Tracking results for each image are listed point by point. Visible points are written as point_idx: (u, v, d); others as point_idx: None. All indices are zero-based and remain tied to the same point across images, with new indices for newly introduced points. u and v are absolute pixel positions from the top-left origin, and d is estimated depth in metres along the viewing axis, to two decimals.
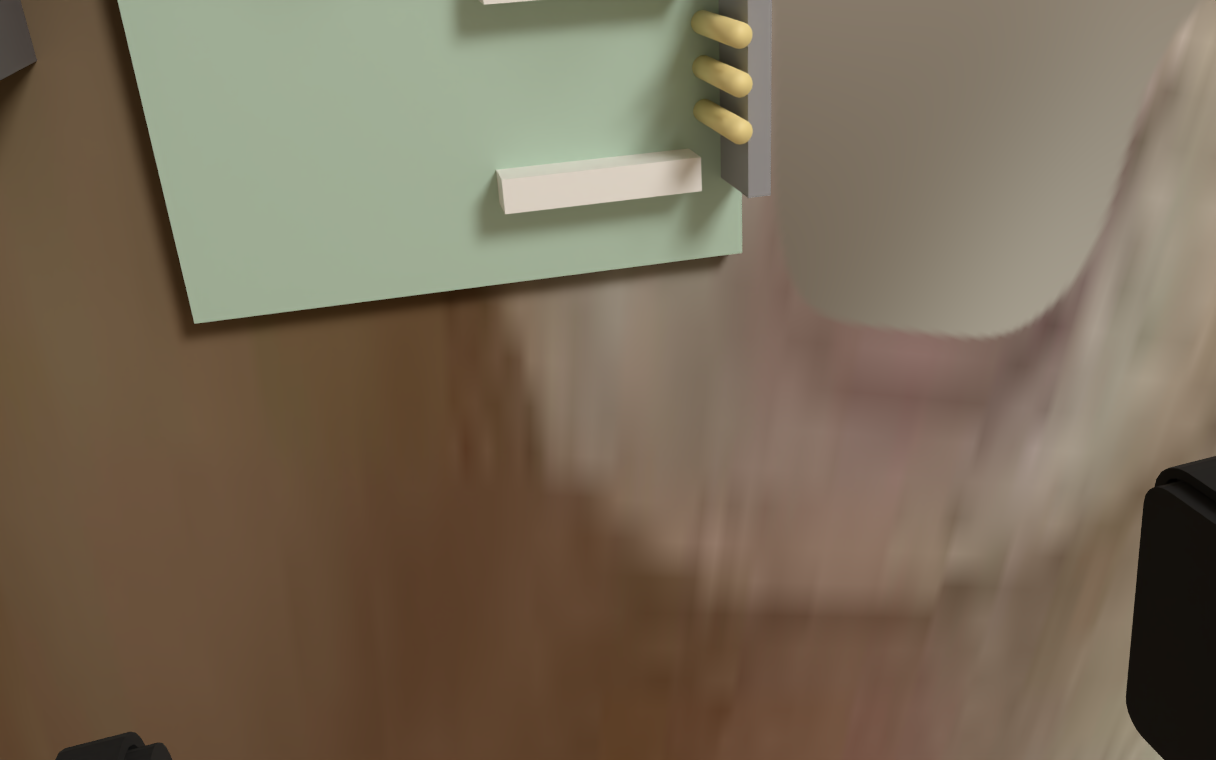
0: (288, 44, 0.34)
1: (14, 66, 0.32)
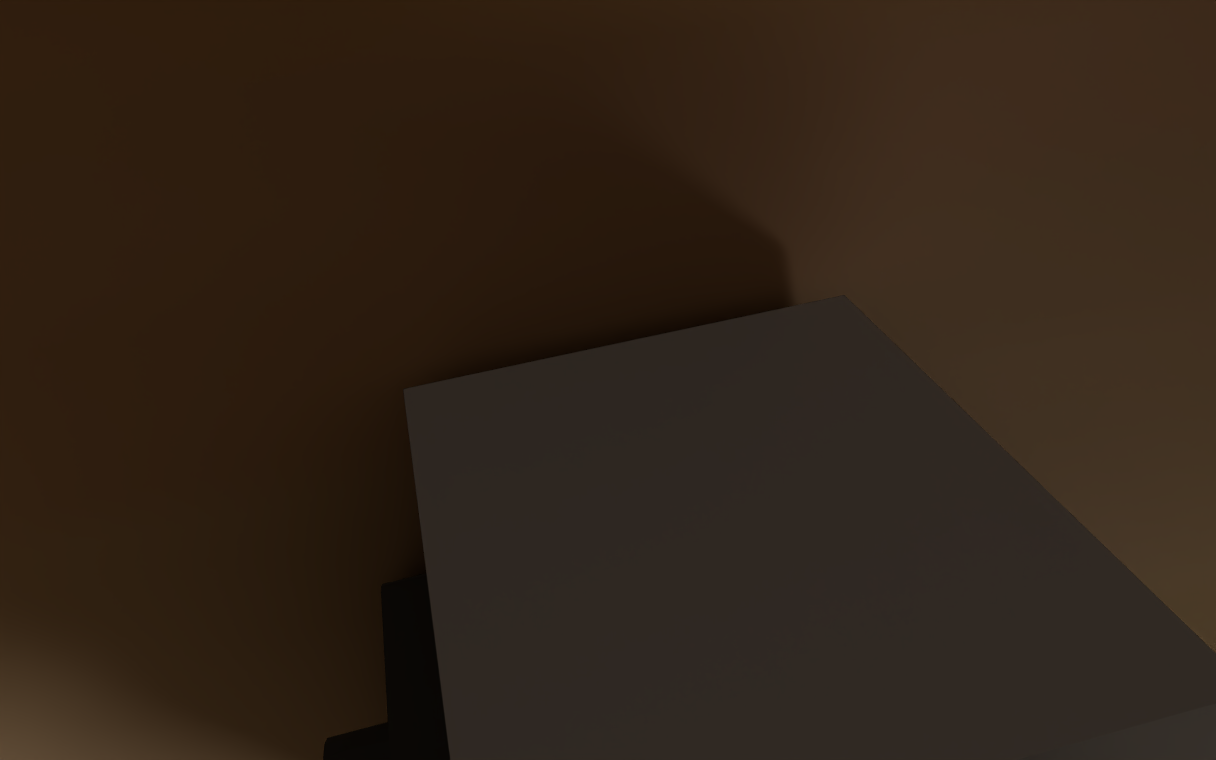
0: None
1: None
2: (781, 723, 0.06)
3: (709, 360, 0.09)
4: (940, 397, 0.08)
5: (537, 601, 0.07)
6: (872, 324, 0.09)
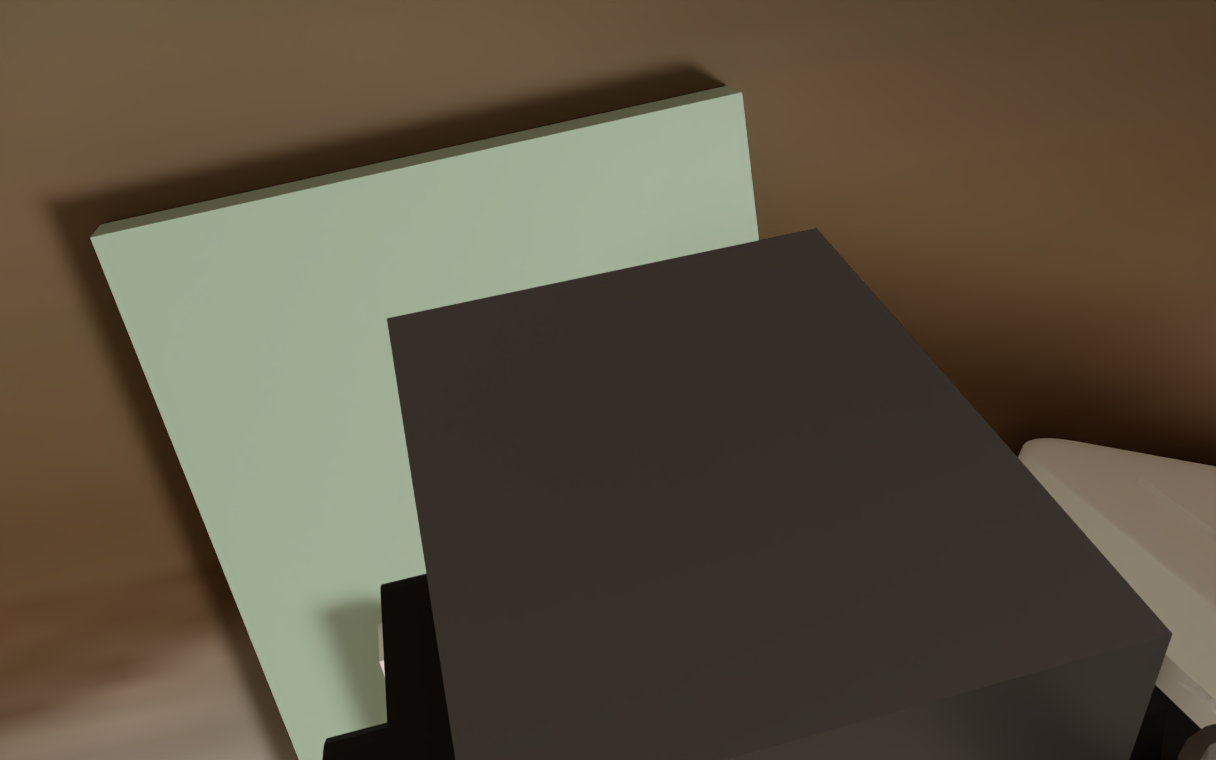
0: None
1: None
2: (746, 658, 0.06)
3: (683, 295, 0.09)
4: (904, 339, 0.08)
5: (522, 539, 0.07)
6: (842, 260, 0.09)
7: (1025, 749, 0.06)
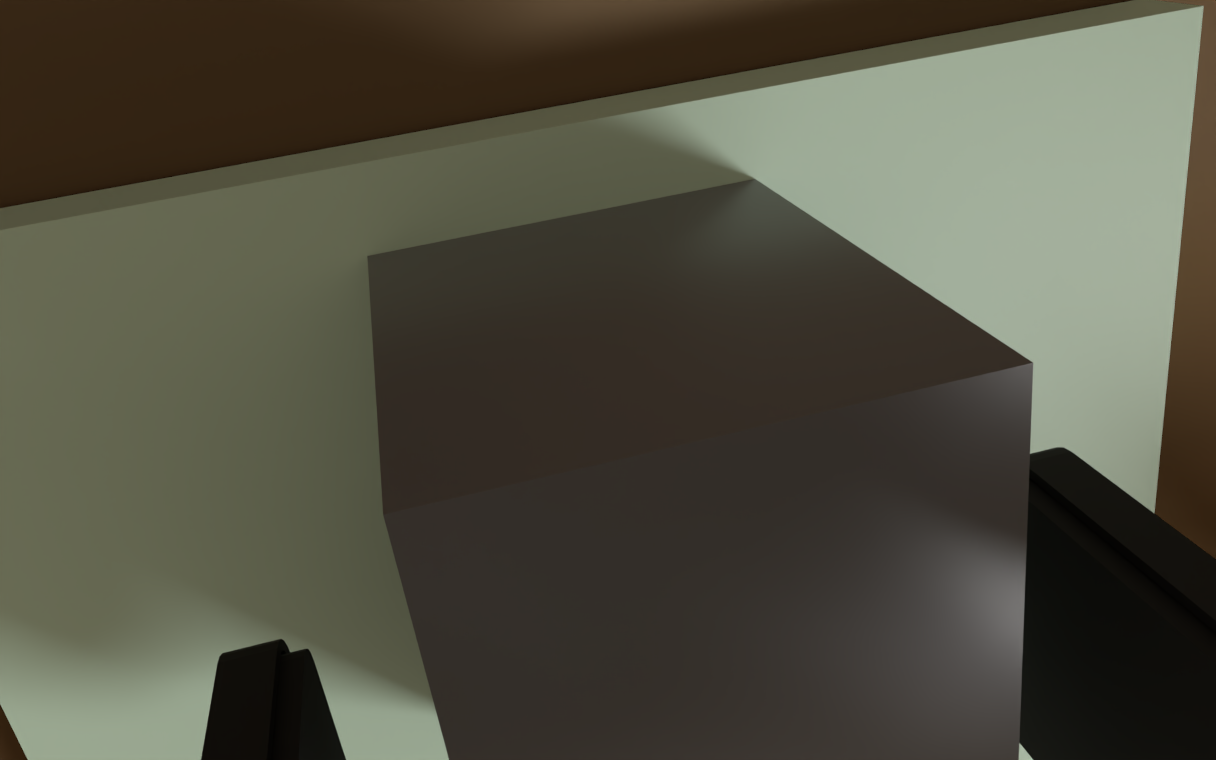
0: None
1: None
2: (649, 405, 0.07)
3: (630, 222, 0.10)
4: (821, 228, 0.09)
5: (462, 359, 0.08)
6: (774, 193, 0.10)
7: (916, 494, 0.07)
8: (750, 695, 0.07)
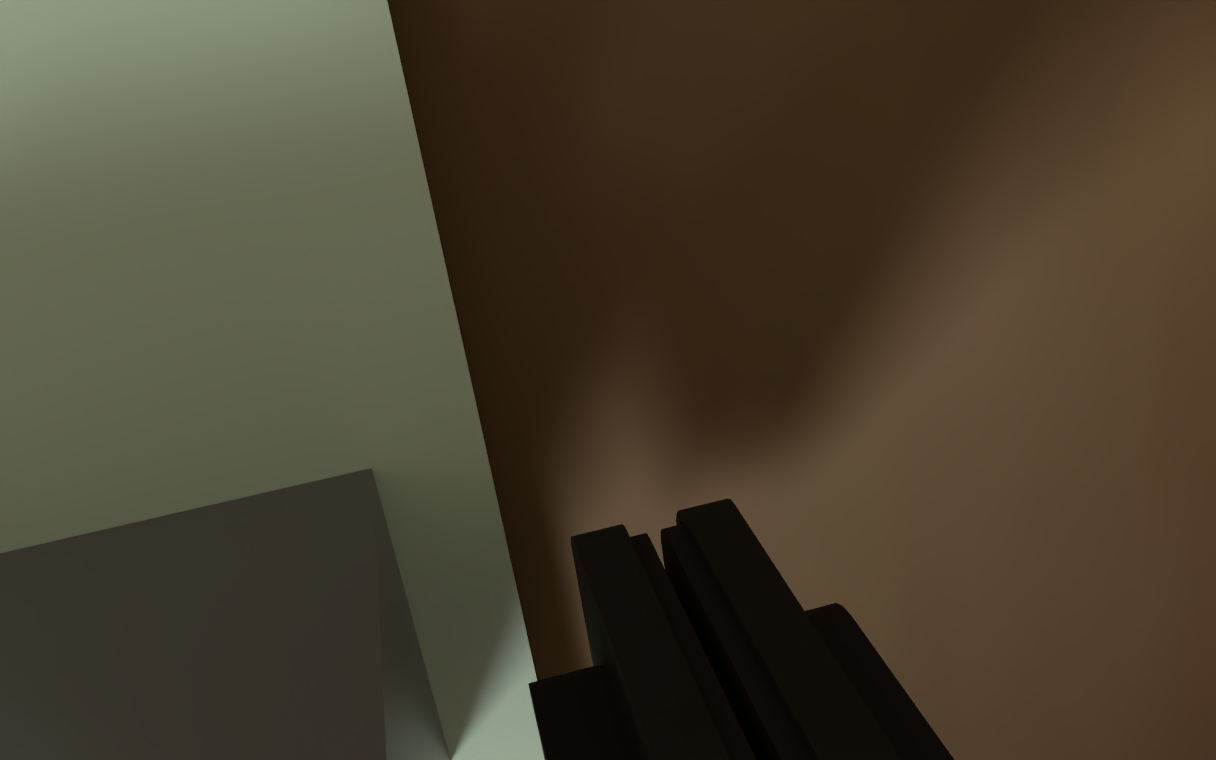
0: None
1: None
2: None
3: (429, 699, 0.11)
4: None
5: (400, 720, 0.08)
6: None
7: None
8: None
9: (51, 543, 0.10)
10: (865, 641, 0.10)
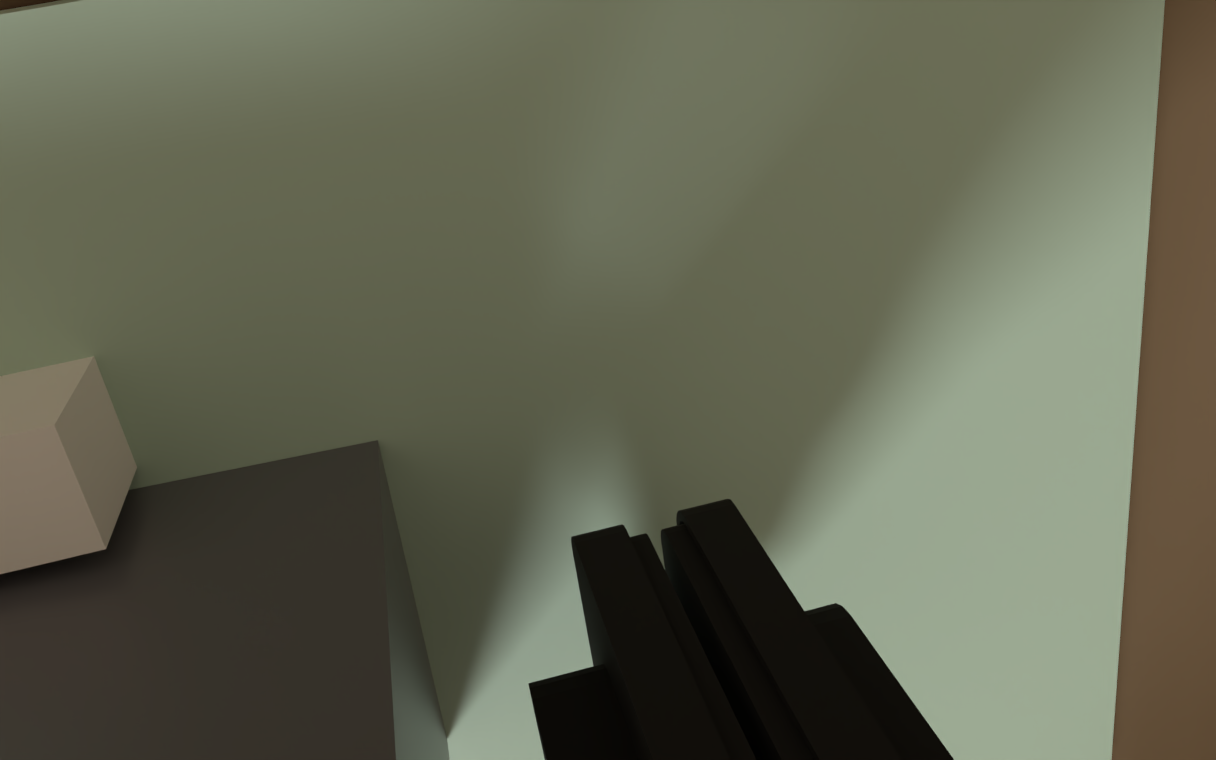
0: None
1: None
2: None
3: (427, 674, 0.11)
4: None
5: (403, 685, 0.08)
6: None
7: None
8: None
9: None
10: (864, 641, 0.10)
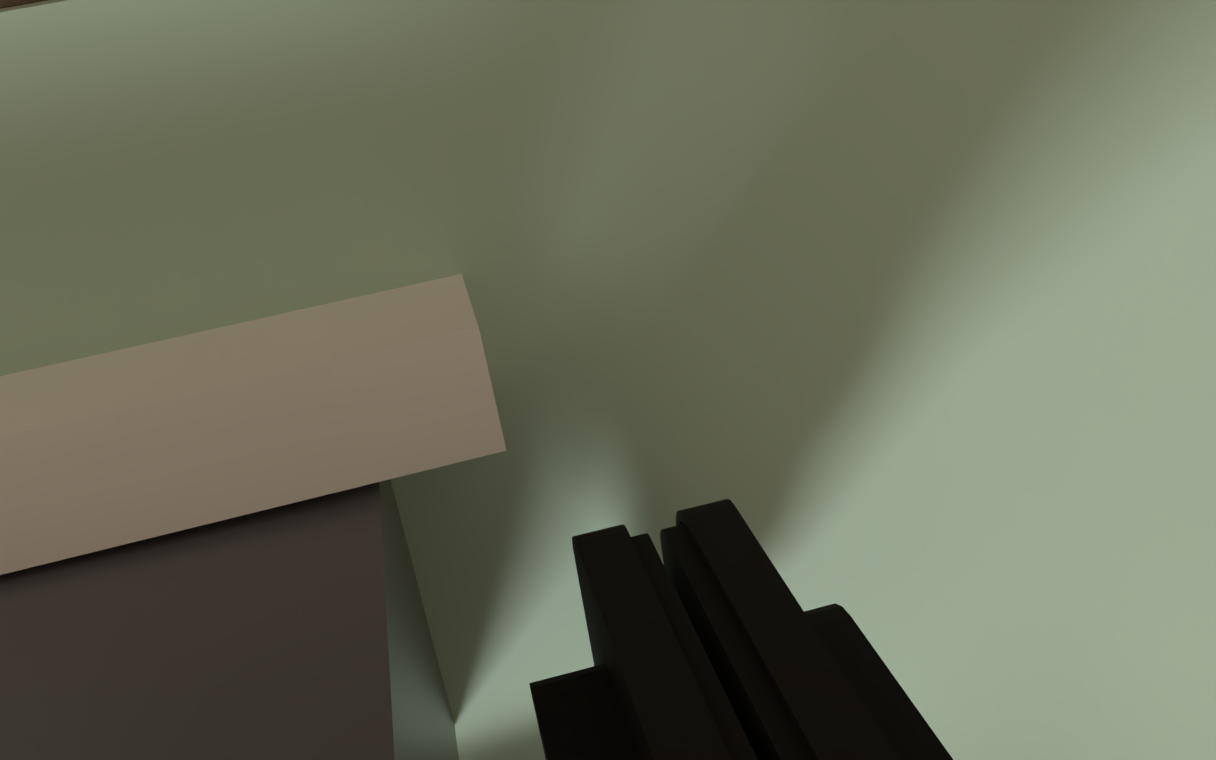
0: (1035, 601, 0.14)
1: None
2: None
3: (432, 660, 0.11)
4: None
5: (404, 666, 0.08)
6: None
7: None
8: None
9: None
10: (865, 641, 0.10)
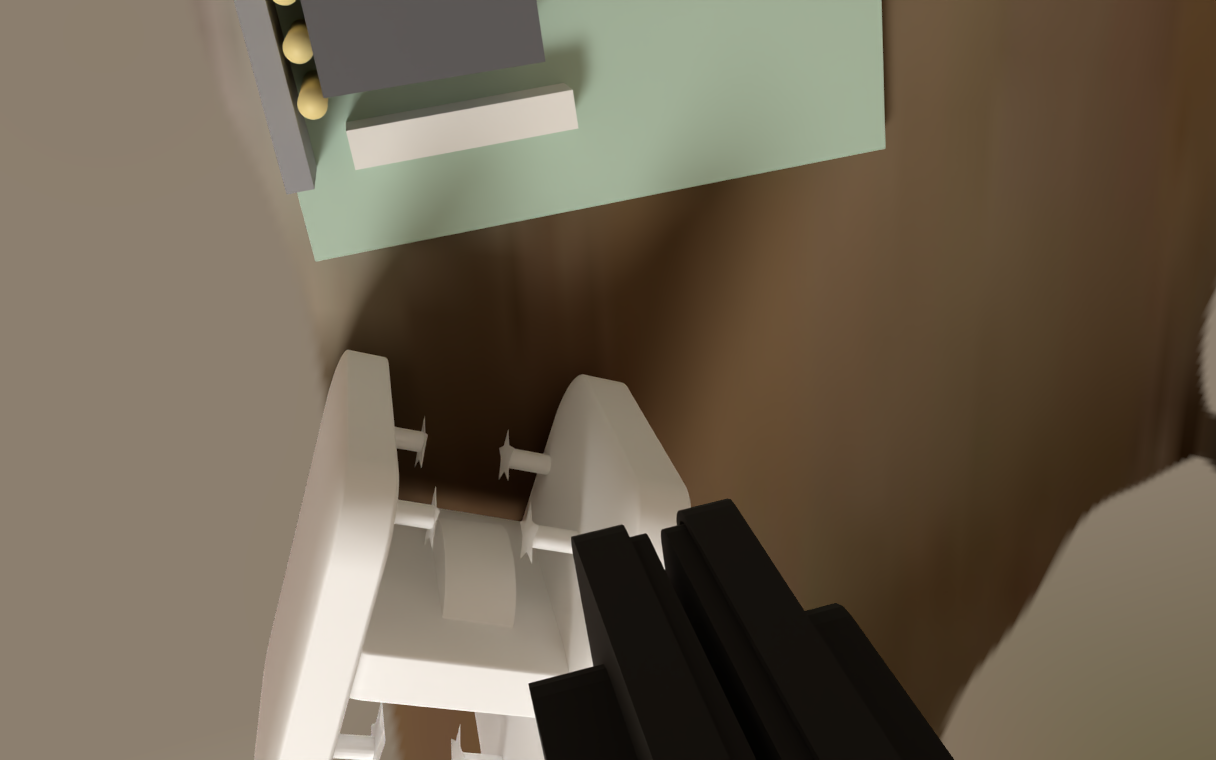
0: (744, 22, 0.35)
1: None
2: None
3: None
4: None
5: None
6: None
7: (514, 36, 0.29)
8: None
9: None
10: (865, 641, 0.10)
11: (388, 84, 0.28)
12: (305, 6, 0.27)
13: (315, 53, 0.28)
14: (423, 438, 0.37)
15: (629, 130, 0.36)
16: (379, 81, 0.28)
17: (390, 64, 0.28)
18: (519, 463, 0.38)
